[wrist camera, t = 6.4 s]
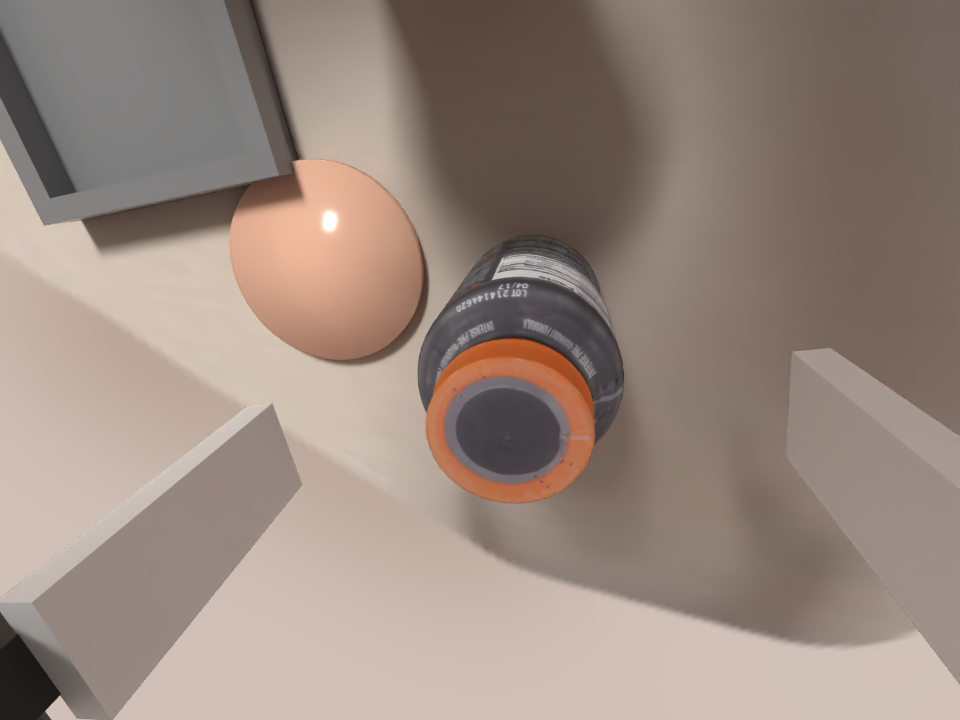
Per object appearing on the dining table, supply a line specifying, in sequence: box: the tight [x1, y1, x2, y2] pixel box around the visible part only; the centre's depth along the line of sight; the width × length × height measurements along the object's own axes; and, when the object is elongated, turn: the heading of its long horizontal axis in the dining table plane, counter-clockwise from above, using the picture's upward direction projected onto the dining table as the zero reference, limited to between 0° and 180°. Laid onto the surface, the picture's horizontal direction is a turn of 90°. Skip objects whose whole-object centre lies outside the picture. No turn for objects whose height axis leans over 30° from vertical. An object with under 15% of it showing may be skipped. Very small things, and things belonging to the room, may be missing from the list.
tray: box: [0, 0, 297, 225], centre depth 19 cm, size 12×12×2 cm
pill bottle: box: [418, 236, 624, 504], centre depth 16 cm, size 6×6×11 cm
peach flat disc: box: [230, 159, 424, 360], centre depth 22 cm, size 9×9×1 cm
